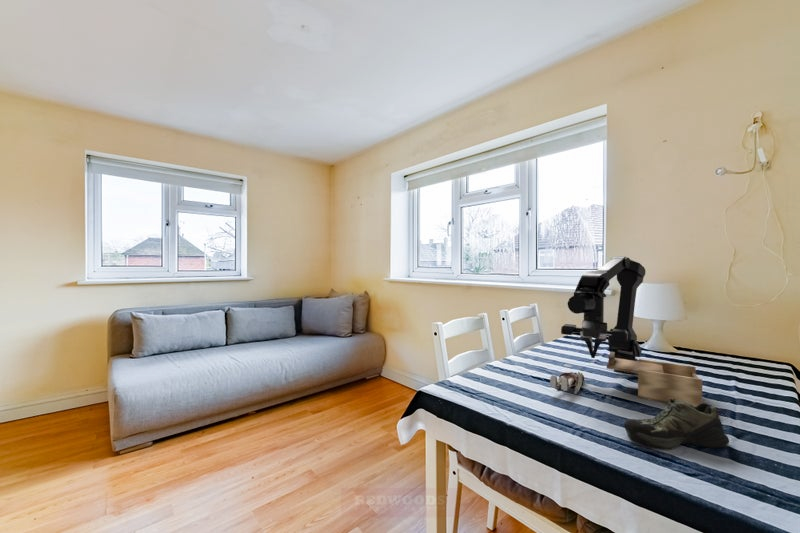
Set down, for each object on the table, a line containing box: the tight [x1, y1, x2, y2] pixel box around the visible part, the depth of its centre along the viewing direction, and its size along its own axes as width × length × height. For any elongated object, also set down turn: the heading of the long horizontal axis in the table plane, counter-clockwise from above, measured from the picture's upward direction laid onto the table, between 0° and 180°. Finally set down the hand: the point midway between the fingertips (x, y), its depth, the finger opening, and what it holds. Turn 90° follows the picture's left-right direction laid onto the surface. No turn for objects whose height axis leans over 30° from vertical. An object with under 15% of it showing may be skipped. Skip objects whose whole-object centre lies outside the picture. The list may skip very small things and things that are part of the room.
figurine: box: [549, 371, 585, 395], centre depth 104 cm, size 6×6×20 cm
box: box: [637, 358, 703, 407], centre depth 99 cm, size 14×14×8 cm
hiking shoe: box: [623, 398, 730, 450], centre depth 74 cm, size 8×21×9 cm, turn 92°
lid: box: [606, 351, 664, 375], centre depth 103 cm, size 14×12×3 cm
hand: (593, 357), depth 110 cm, fingers closed
